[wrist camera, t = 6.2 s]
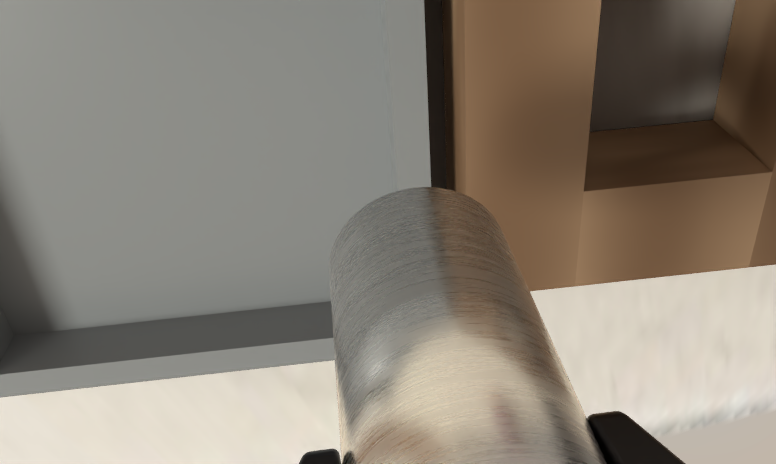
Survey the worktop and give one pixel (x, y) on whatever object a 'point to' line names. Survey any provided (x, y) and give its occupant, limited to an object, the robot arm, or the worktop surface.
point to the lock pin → (444, 342)
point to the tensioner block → (606, 149)
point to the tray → (191, 178)
